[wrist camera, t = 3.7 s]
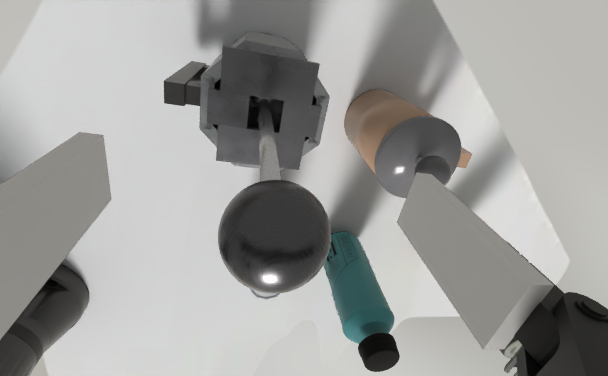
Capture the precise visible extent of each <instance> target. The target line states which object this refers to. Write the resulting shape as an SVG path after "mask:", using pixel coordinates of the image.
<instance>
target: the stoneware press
mask: <svg viewBox="0 0 608 376" xmlns="http://www.w3.org/2000/svg"><path fill="white" fill-rule="evenodd" d="M344 128H345V132H346V135H347V137H348V139H349V140H350V141H351V143H352V144H353V145H354V147H355V148H356V149H357V151H358V152H359V153H360V155H361V156H362V157H363V159H364V160H365V161H366V163H367V164H368V165H369V167H370V168H371V169H372V171H373V172H374V173H375V175H376V176H377V178H378V180H379V182H380V183H381V184H382V186H383V187H384V188H385V189H386V190H387V191H388V192H389V193H391V194H393V195H395V196H398V197H402V198H407V195H408V193H409V190H410V188H411V185H412V183H413V180H414V178H415V175H416V173H425V174H432V175H433V176H434V177H435V178H436V179H437V180H439V181H440V182H441V183H442V184H443V185H444V186H445V185H446V184H447V183H448V182H449V180H450V178H451V175H452V174H453V172H454V171H455V169H456V167H461V168H466V166H467V164H468V162H469V160H470V158H471V156H472V154H471V153H470V152H468V151H467V150H465V149H464V148H462V147H461V142H460V138H459V135H458V133H457V131H456V130H455V129H454V128H453V127H452V126H451V125H450V124H448V123H447V122H445V121H443V120H442V119H439V118H437V117H434V116H432V115H430V114H429V113H427V112H425V111H423V110H422V109H420V108H418V107H416V106H415V105H413V104H411V103H409V102H408V101H406V100H404V99H402V98H401V97H399V96H397V95H395V94H393V93H392V92H390V91H387V90H383V89H374V90H370V91H367V92H365V93H363V94H361V95H360V96H358V97H357V98H356V99H355V100H354V101H353V102H352V103H351V105H350V106H349V108H348V110H347V112H346V115H345V120H344Z"/></svg>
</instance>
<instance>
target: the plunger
mask: <svg viewBox="0 0 608 376" xmlns="http://www.w3.org/2000/svg"><path fill="white" fill-rule="evenodd" d="M282 106H283V101H282V100H276V99H269V98H263V97H257V96H250V100H249V110H248V119H247V126H250V127H257V128H259V147H260V182H258V183H255V184H253V185H251V186H248V187H247V188H245V189H243V190H242V191H241V192H240V193H238V194H237V195H236V196H235V197H234V198H233V199H232V200H231V202H230V203H229V204H228V206H227V207H226V209H225V211H224V213H223V215H222V218H221V221H220V225H219V231H218V244H219V250H220V254H221V257H222V259H223V262H224V264H225V265H226V267H227V269H228V270H229V272H230V273H231V274H232V275H233V276H234V277H235V278H236V279H237V280H238V281H239V282H240V283H242V284H243V285H245V286H247V287H249V288H251V289H253V290H256V291H259V292H263V293H284V292H289V291H292V290H295V289H297V288H299V287H301V286H303V285H304V284H306V283H307V282H309V281H310V280H311V279H312V278H313V277H314V276H315V275H316V274H317V273H318V272H319V270H320V269H321V267H322V266H323V264H324V262H325V260H326V258H327V255H328V253H329V249H330V243H331V228H330V223H329V219H328V216H327V214H326V212H325V210H324V207H323V206H322V204H321V203H320V201H319V200H318V199H317V198H316V197H315V196H314V195H313V194H312V193H311V192H310V191H308V190H307V189H305V188H304V187H302V186H300V185H298V184H296V183H293V182H289V181H284V180H281V175H280V168H279V162H278V155H277V148H276V142H275V135H274V130H279V125H280V119H281V112H282Z"/></svg>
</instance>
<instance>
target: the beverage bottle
mask: <svg viewBox="0 0 608 376" xmlns="http://www.w3.org/2000/svg"><path fill="white" fill-rule="evenodd" d="M361 246H362V244H361V243H360V242H359V240H358V239H357V238H356V237H355V236H354V235H353V234H351V233H348V232H338V233H334V234H332V235H331V243H330V249H329V253H328V255H327V258H326V260H325V262H324V264H323V265H325V266H324V268H325V270H326V271H325V272H326V275H328V276H327V277H328V279H329V283H330V286H331V289H332V293H333V297H334V301H335V305H336V307H337V308H336V310H338V313H339V314H338V315H339V316H340V320H341V323H342V328H343V332H344V334H345V336H346V337H347V338H348V339H350V340H351V341H354V342H356V343H359V346H358V350H359V354H360V356H361V358H362V360H363V363H364V365H365V367H366V368H367V369H368V370H370V371H375V372H380V371H384V370H387V369H389V368H391V367H393V366H394V365H395V364H396V363H397V362H398V360H399V352H398V349H397V346H396V342H395V340H394V338H393V336H392V335H390V334H389V332H390V330H391V329H392V327H393V324H394V315H393V313H392V311H391V310H390V308H389V306H388V303H387V301H386V299H385V297H384V295H383V293H382V291H381V288H380V286H379V284H378V282H377V280H376V278H375V274H374V272H373V270H372V268H371V266H370V264H369V262H368V259H367V256H366V254H365V253H364V252H365V251H364V250H363V249H364V248H363V249H362V247H361Z"/></svg>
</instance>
